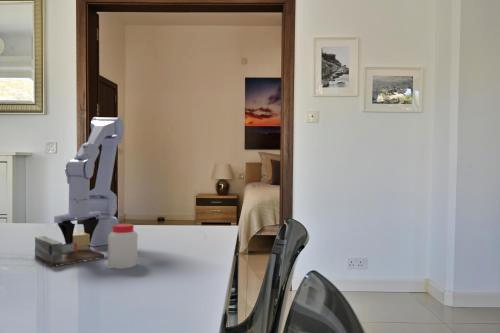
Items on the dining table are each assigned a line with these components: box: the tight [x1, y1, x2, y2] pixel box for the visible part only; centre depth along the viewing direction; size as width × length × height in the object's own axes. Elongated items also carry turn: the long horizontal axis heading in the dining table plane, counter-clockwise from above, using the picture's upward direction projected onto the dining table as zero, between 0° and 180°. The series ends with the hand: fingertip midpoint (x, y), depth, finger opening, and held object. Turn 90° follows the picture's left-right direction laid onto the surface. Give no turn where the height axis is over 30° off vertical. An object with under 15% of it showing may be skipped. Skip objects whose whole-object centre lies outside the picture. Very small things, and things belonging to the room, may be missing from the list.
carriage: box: [73, 231, 90, 250], centre depth 119 cm, size 5×4×4 cm
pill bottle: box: [107, 223, 139, 270], centre depth 108 cm, size 8×8×11 cm
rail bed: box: [34, 235, 105, 267], centre depth 114 cm, size 14×13×6 cm
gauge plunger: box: [62, 242, 77, 252], centre depth 109 cm, size 5×2×2 cm, turn 137°
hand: (78, 244), depth 119 cm, fingers closed on carriage, 6 cm apart
